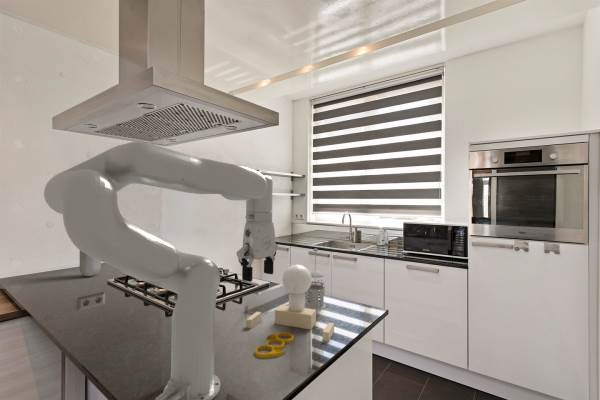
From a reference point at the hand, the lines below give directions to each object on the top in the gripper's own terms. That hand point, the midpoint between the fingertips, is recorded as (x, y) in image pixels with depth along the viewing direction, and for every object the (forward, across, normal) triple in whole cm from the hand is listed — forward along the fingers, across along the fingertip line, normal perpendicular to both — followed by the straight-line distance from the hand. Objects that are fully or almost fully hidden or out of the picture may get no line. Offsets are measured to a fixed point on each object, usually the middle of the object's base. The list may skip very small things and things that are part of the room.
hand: (258, 277), depth 86 cm
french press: (+24, +46, +5) cm, 52 cm away
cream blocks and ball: (+23, +24, +3) cm, 34 cm away
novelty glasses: (+24, +8, -1) cm, 25 cm away
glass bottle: (+23, +18, +138) cm, 142 cm away
